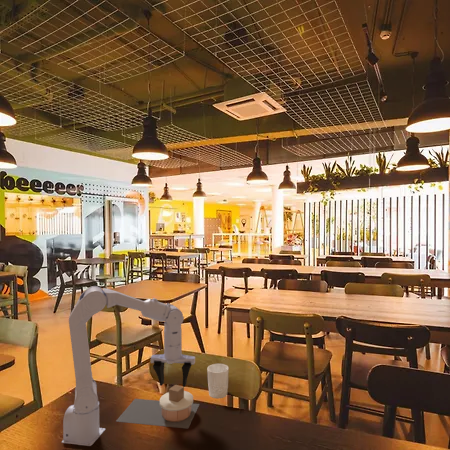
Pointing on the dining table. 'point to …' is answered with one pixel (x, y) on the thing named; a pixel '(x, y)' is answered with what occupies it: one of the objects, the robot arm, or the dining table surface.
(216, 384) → the white cup
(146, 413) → the mat
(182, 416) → the bowl
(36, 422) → the dining table surface
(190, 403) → the lid
